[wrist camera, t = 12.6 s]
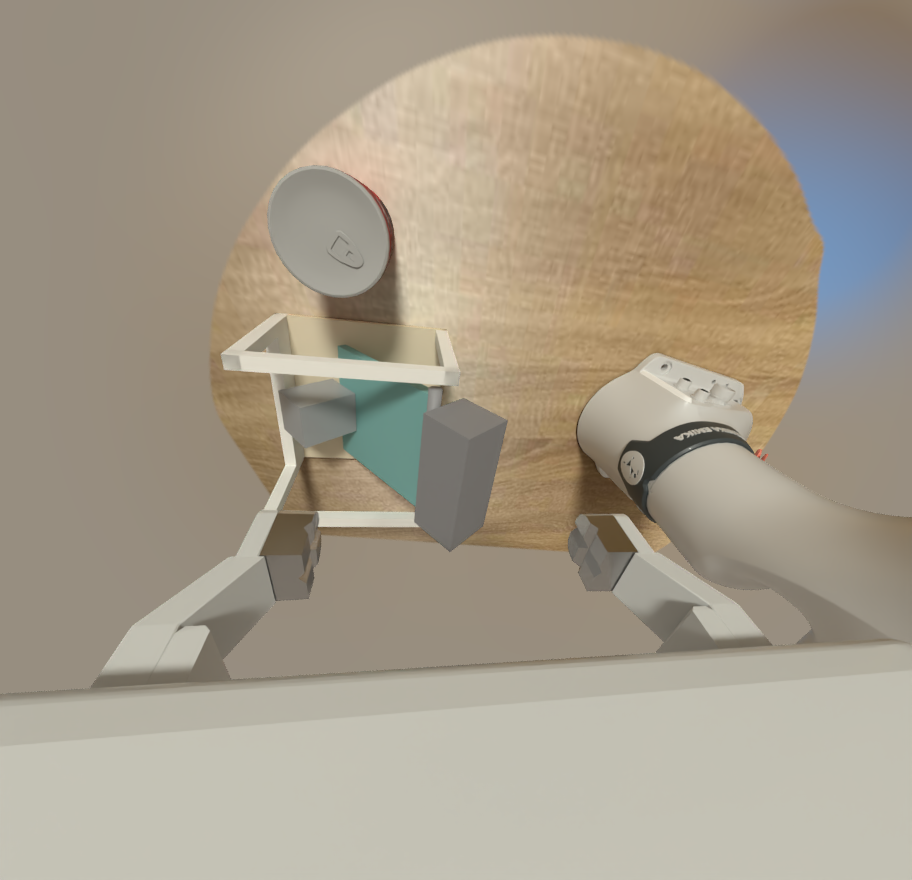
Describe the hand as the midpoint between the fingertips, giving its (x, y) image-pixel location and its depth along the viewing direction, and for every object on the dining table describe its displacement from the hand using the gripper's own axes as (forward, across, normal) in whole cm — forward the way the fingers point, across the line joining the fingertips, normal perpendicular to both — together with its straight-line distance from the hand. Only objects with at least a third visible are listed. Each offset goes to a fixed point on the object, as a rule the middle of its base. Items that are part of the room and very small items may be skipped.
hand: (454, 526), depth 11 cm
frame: (+31, +6, +11) cm, 34 cm away
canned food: (+31, +7, -6) cm, 33 cm away
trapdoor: (+24, 0, +11) cm, 26 cm away
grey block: (+29, +8, +11) cm, 32 cm away
